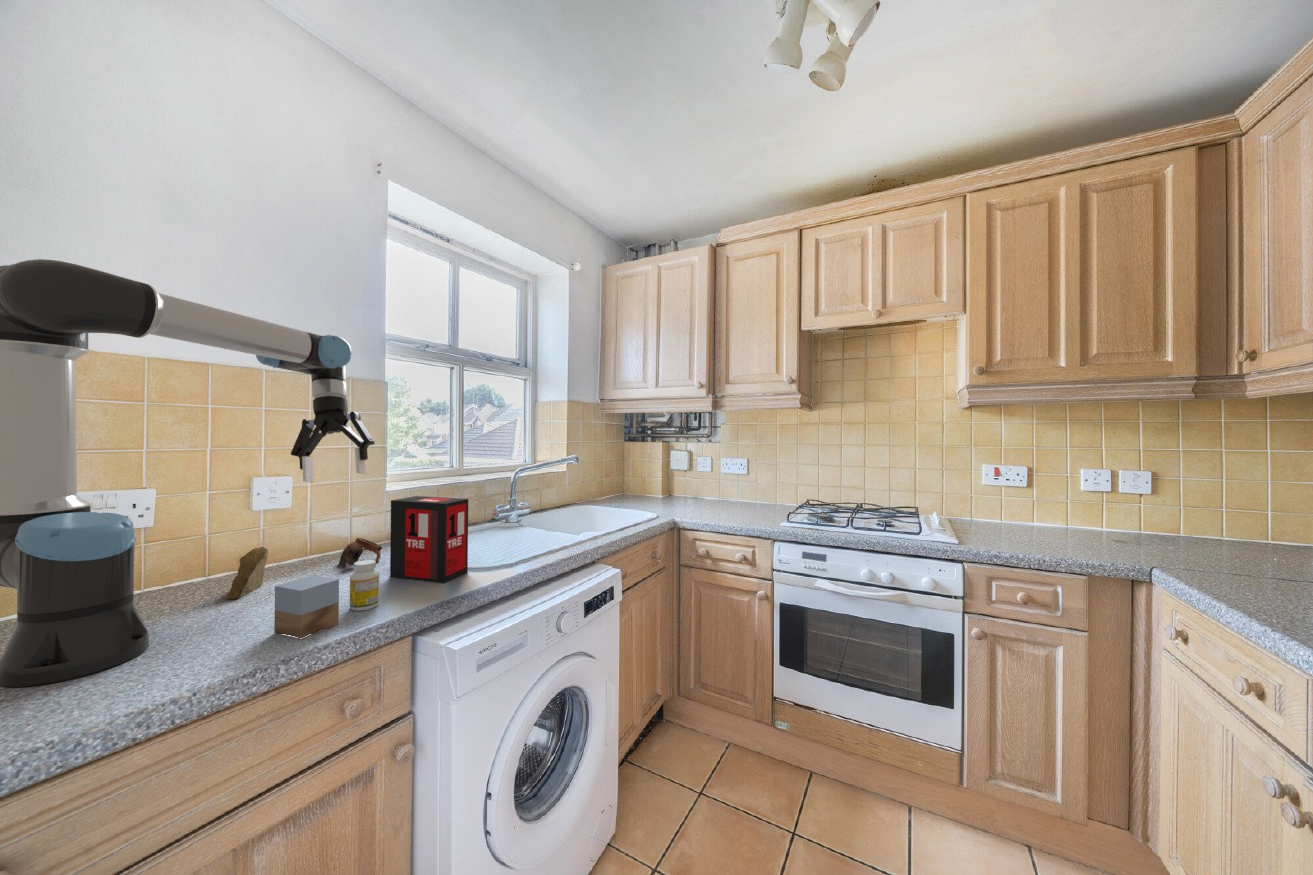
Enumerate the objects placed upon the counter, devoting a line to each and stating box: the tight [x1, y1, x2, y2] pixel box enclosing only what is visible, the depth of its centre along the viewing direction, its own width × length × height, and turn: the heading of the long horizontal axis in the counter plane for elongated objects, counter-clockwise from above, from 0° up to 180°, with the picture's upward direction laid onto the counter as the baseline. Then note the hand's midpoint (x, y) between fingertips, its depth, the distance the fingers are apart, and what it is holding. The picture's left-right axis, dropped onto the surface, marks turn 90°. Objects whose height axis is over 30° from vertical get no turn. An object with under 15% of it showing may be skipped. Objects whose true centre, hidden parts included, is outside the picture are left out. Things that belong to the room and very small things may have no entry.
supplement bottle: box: [349, 559, 380, 612], centre depth 98 cm, size 5×5×10 cm
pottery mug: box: [338, 537, 383, 568], centre depth 130 cm, size 12×9×8 cm
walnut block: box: [273, 601, 340, 639], centre depth 87 cm, size 7×7×4 cm
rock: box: [226, 546, 269, 600], centre depth 106 cm, size 11×9×10 cm
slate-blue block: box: [274, 574, 340, 615], centre depth 87 cm, size 7×7×4 cm
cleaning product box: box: [389, 495, 469, 584], centre depth 121 cm, size 16×9×20 cm, turn 76°
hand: (334, 477), depth 119 cm, fingers open, 13 cm apart
